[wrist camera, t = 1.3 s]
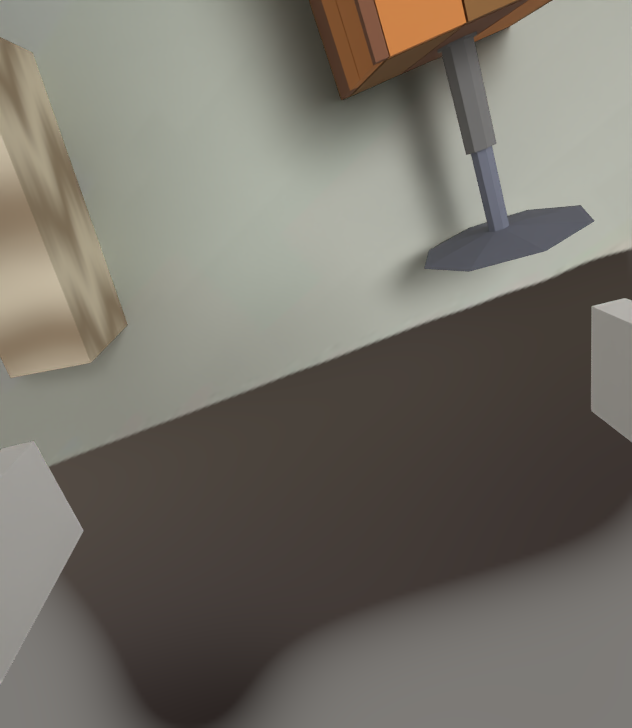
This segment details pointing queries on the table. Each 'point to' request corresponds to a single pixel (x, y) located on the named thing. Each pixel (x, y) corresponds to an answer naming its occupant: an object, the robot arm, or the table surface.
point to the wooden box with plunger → (457, 46)
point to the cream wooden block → (45, 237)
